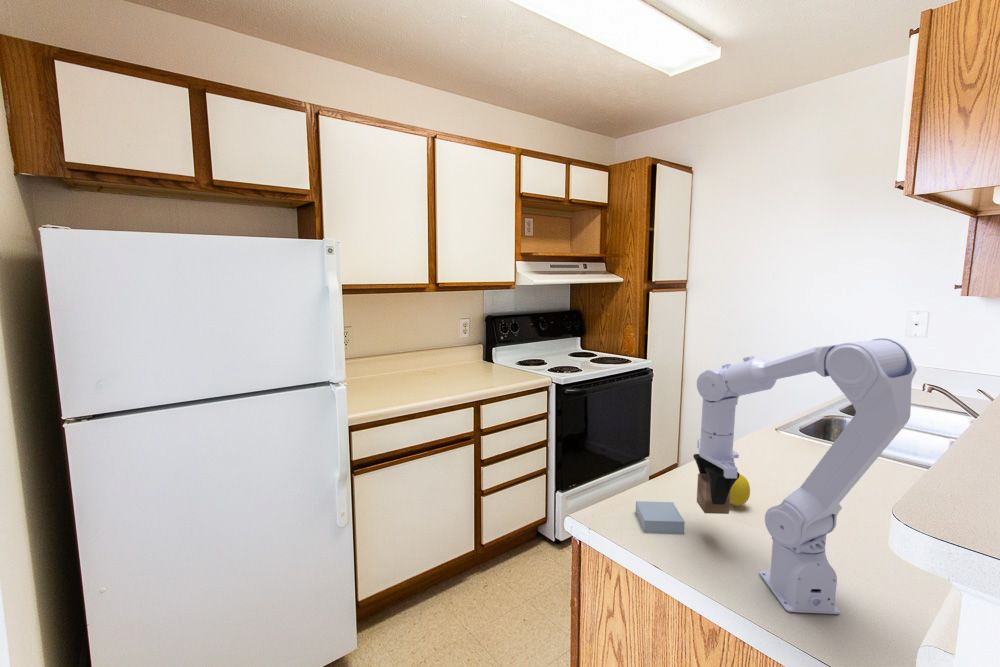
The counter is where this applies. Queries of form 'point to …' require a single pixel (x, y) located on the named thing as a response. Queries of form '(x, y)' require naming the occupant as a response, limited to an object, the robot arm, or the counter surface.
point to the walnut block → (709, 497)
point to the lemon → (740, 491)
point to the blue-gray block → (659, 517)
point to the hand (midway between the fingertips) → (713, 497)
